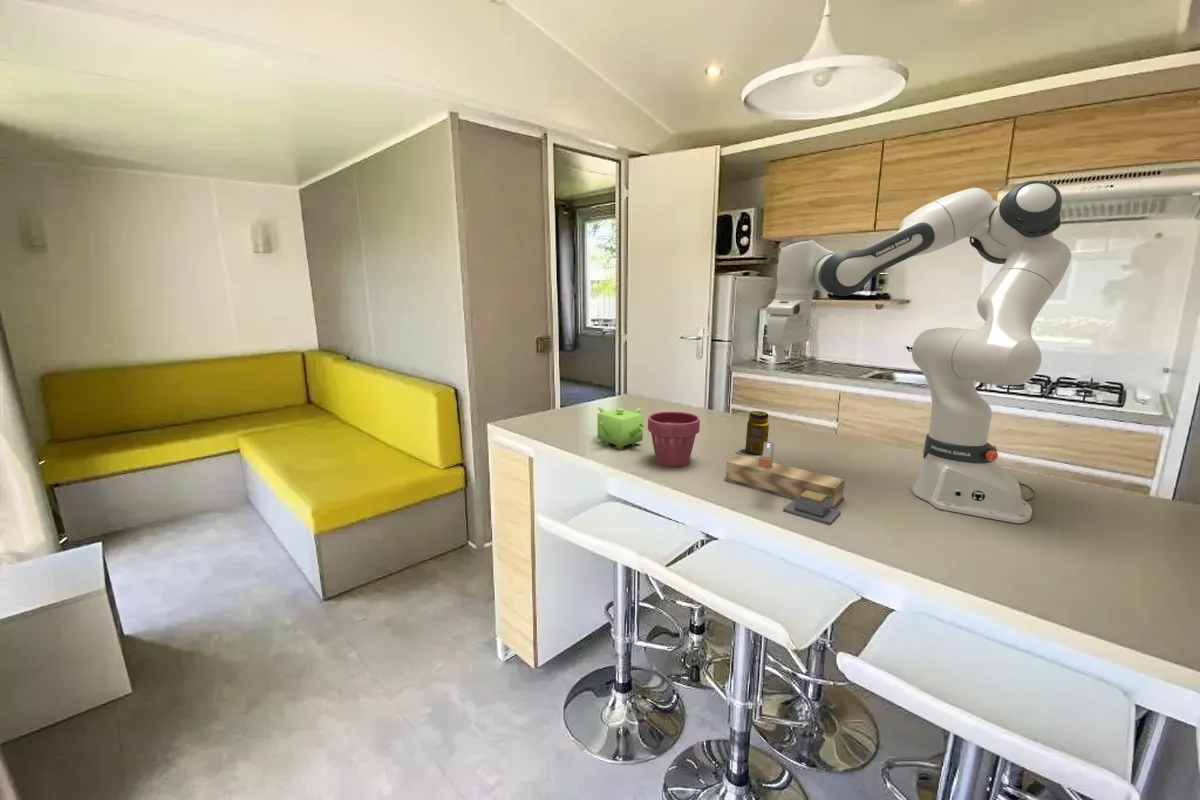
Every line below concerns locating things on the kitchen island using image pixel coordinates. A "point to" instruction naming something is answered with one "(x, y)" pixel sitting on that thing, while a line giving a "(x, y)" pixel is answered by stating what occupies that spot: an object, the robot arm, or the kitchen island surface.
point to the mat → (826, 519)
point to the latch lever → (767, 455)
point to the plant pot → (673, 436)
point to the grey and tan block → (813, 503)
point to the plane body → (783, 479)
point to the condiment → (756, 434)
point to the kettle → (620, 427)
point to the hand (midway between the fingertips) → (787, 360)
